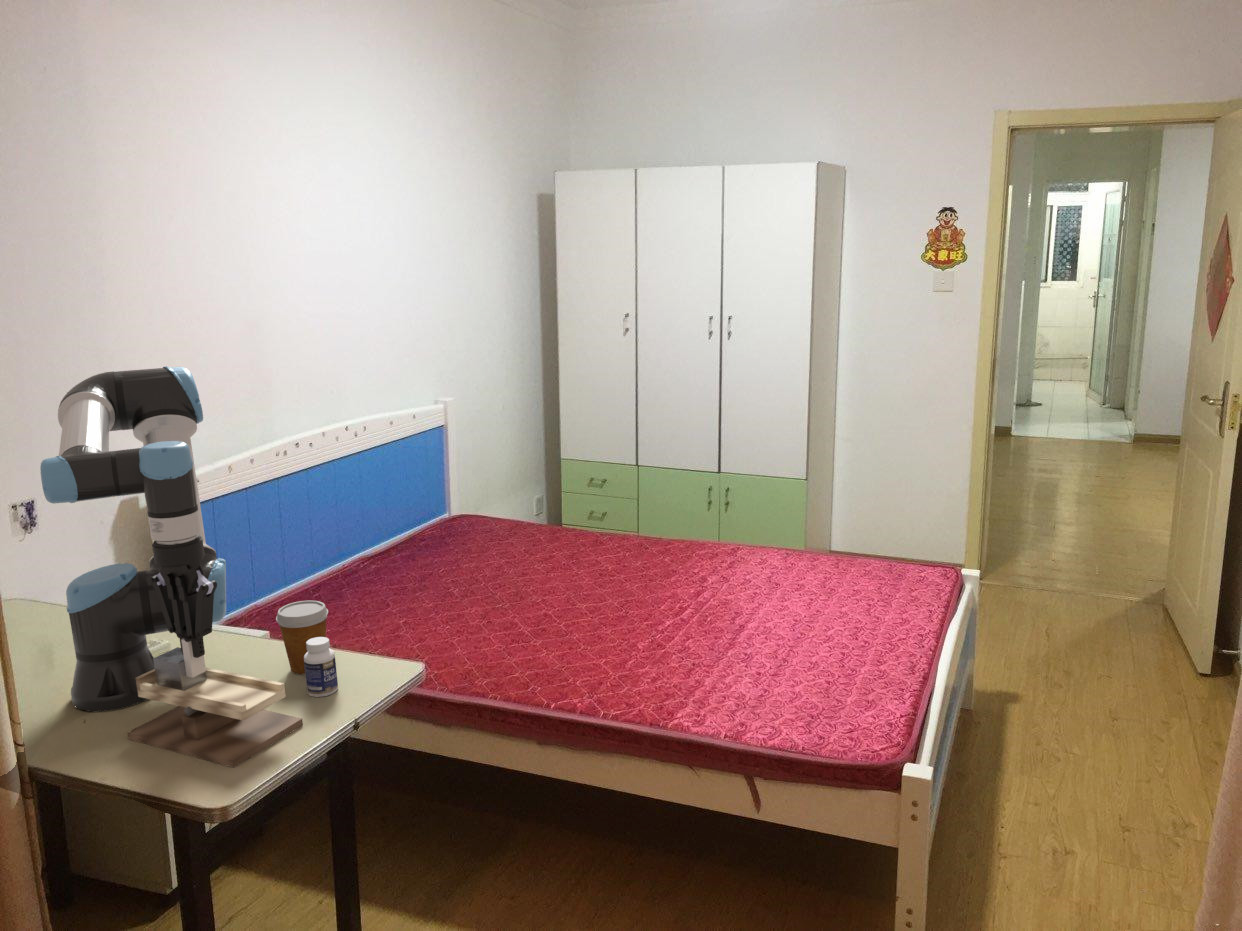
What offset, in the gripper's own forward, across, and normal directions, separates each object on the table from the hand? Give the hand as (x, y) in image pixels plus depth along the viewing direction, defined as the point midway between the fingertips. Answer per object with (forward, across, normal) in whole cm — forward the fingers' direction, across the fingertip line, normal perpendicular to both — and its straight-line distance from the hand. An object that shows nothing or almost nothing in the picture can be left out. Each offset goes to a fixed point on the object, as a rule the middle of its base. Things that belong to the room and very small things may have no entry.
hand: (196, 673), depth 168 cm
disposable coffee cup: (+10, -1, +26) cm, 28 cm away
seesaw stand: (+10, +3, 0) cm, 10 cm away
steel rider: (+2, -4, 0) cm, 4 cm away
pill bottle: (+10, +9, +19) cm, 23 cm away
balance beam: (+4, +3, 0) cm, 5 cm away
